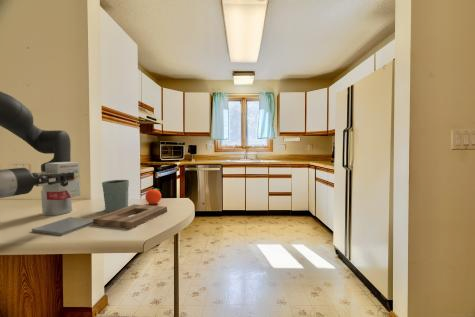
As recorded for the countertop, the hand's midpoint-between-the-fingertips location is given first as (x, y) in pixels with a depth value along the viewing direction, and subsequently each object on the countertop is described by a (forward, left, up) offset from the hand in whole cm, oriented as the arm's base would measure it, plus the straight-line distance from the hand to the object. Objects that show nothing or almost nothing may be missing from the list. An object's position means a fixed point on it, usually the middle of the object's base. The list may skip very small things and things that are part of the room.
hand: (66, 175), depth 81 cm
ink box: (0, -1, -7) cm, 8 cm away
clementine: (+10, +33, -17) cm, 39 cm away
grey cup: (0, +21, -17) cm, 27 cm away
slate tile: (0, -1, -17) cm, 17 cm away
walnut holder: (+15, +13, -17) cm, 26 cm away
